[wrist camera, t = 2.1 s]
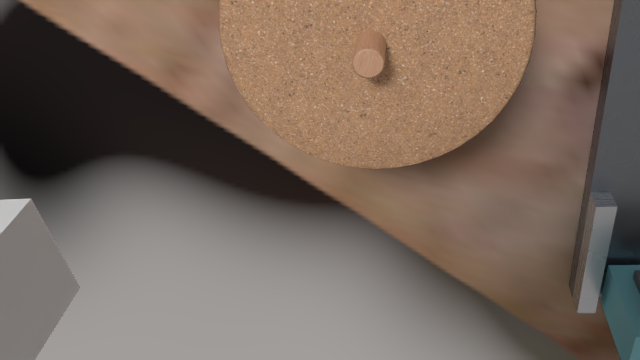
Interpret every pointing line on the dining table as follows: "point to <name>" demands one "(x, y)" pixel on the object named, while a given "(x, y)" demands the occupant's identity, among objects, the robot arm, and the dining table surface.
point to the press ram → (623, 308)
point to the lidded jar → (377, 72)
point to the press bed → (612, 166)
